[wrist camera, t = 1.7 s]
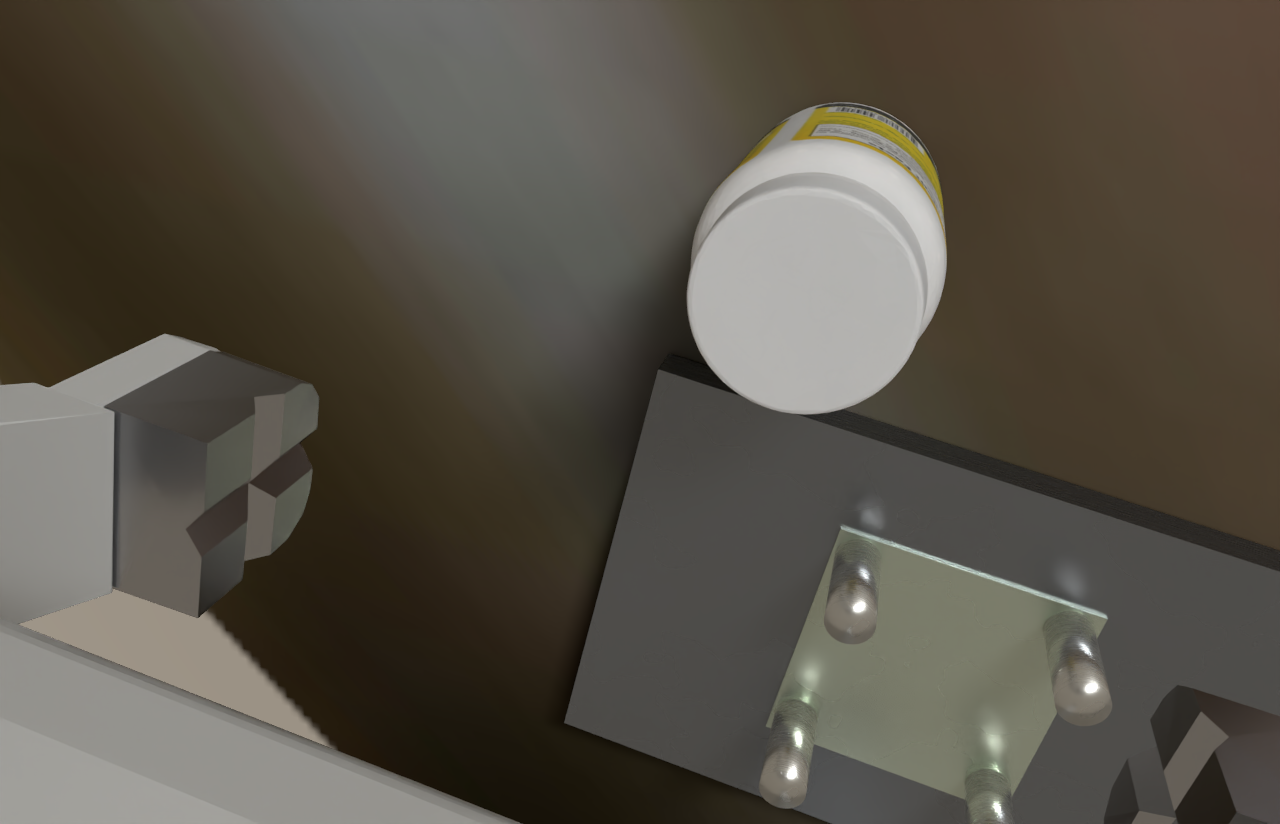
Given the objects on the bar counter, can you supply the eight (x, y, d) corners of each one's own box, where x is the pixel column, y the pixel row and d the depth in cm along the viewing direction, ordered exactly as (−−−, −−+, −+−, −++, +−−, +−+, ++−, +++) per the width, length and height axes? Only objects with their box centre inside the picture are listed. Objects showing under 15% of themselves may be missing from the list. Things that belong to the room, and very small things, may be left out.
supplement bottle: (773, 321, 27) (709, 462, 19) (713, 139, 25) (619, 214, 18) (966, 268, 25) (980, 401, 17) (914, 70, 24) (903, 121, 16)
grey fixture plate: (576, 698, 33) (530, 792, 29) (669, 353, 28) (627, 415, 24) (1156, 914, 30) (1187, 1047, 27) (1379, 583, 25) (1456, 691, 22)
